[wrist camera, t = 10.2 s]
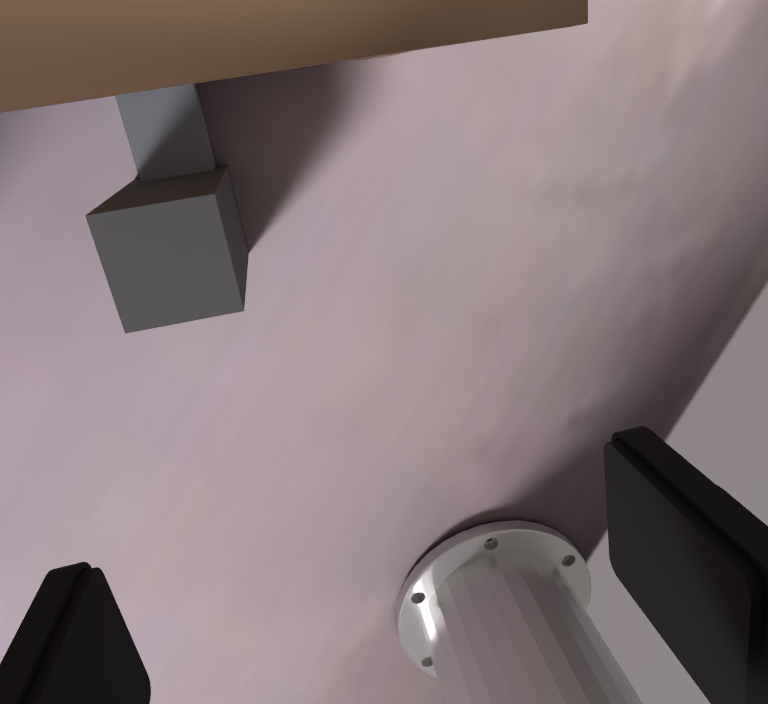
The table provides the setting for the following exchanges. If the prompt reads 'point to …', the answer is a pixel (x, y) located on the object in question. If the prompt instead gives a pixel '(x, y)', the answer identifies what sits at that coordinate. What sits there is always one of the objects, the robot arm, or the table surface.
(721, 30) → the table surface
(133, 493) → the table surface
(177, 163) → the blade tool
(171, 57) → the cabinet
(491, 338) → the table surface
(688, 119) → the table surface
